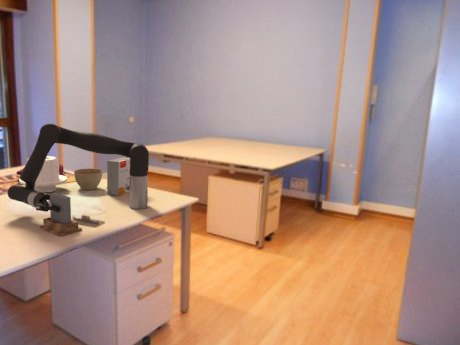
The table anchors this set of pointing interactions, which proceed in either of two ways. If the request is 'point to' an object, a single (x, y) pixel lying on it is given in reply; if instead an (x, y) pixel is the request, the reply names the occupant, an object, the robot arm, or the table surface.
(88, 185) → the planter bowl
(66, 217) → the grey upright flat block
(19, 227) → the table surface
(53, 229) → the rack
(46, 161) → the ribbed cylinder on disc
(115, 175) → the hard drive box
